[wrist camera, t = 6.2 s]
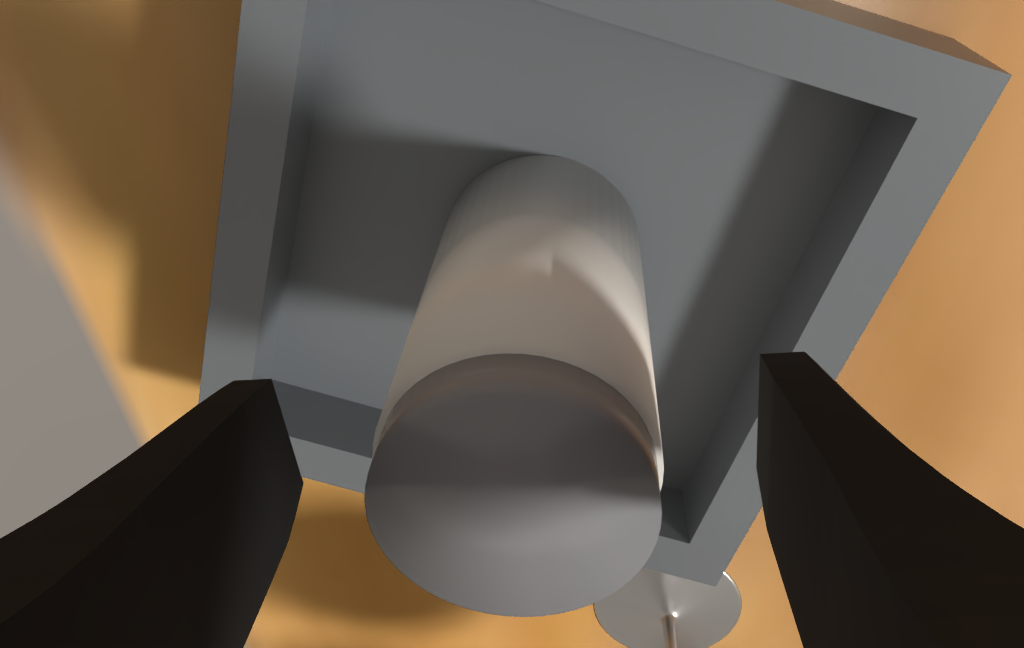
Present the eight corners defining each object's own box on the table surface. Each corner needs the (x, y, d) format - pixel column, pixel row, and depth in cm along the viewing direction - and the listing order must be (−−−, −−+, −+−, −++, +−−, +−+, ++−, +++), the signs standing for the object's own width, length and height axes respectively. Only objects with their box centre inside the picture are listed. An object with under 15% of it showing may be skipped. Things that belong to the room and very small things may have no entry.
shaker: (623, 138, 19) (645, 366, 11) (651, 316, 21) (686, 607, 14) (422, 175, 20) (315, 411, 12) (470, 343, 22) (406, 632, 14)
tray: (953, 38, 18) (1011, 74, 16) (703, 508, 25) (715, 586, 23) (309, -166, 17) (259, -162, 15) (235, 381, 25) (193, 448, 22)
